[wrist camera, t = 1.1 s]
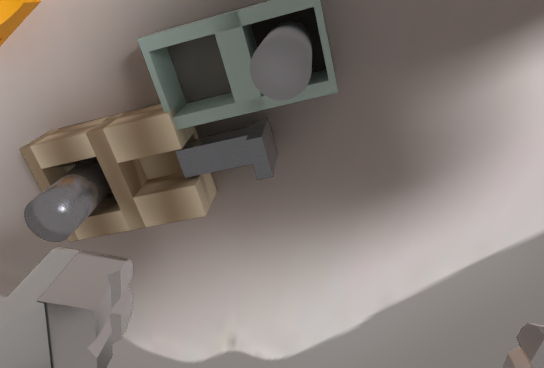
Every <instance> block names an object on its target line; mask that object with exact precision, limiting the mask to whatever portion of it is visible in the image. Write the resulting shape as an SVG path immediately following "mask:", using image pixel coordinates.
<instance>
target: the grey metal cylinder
mask: <svg viewBox="0 0 544 368" xmlns="http://www.w3.org/2000/svg"><path fill="white" fill-rule="evenodd" d="M111 191H112V190H111V188H110V186H109V184H108V181H107V179H106V177H105V175H104V173H103V170H102V168H101V166H100V164H99V162H98V160H97V157H92V158H88V159H83V160H82V161H81V162H80V163H78V164H77V165H76V166H75V167H73V168H72V169H71V170H70V171H68V172H67V173H66V174H65V175H64V176H62V177H61V178H60V179H59V180H57V181H56V182H55V183H54V184H52V185H51V186H50V187H49V188H47V189H46V190H45V191H44V192H42V193H41V194H40V195H39V196H38V197H36V198H35V199H34V200H33V201H31V202H30V203H29V204H28V205H27V207H26V209H25V220H26V223H27V225H28V227H29V228H30V229H31V230H32V231H33V233H35V234H36V235H37V236H39V237H40V238H42V239H45V240H47V241H52V242H59V241H63V240H65V239H67V238H68V237H69V236H70V235H71V234H72V233H73V232H74V231H75V230H76V229H77V228H78V227H79V226H80V224H81V223H82V222H83V221H84V220H85V219H86V218H87V217H88V216H89V215H90V214H91V213H92V212H93V211H94V209H95V208H96V207H97V206H98V205H99V204H100V203H101V202H102V201H103V200H104V199H105V198H106V197H107V195H108V194H109V193H110V192H111Z"/></svg>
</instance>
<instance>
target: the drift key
mask: <svg viewBox="0 0 544 368" xmlns="http://www.w3.org/2000/svg"><path fill="white" fill-rule="evenodd" d="M175 152H176V155H177V158H178V160H179V163H180V166H181V168H182V171H183V174H184V176H185V178H187V177H192V176H197V175H202V174H207V173H211V172H216V171H221V170H226V169H231V168H235V167H240V166H245V165H250V164H253V167H254V170H255V173H256V177H257V180H259V179H264V178H269V177H273V174H274V169H275V164H276V159H277V154H278V153H277V150H276V146H275V142H274V139H273V135H272V131H271V128H270V124H269V120H268V118H264V119H260V120H256V121H253V124H252V126H251V127H246V128H242V129H237V130H233V131H228V132H224V133H220V134H215V135H211V136H206V137H202V138H197V139H193V140H189V141H187V142H186V144H185V145H184V146H183V148H182V149H179V150H176V151H175Z"/></svg>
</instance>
